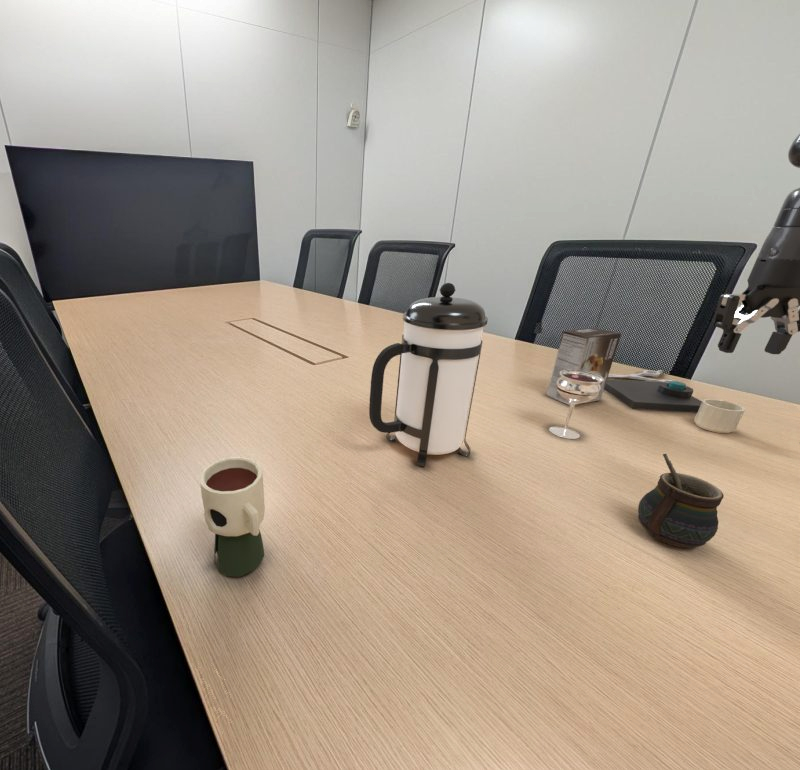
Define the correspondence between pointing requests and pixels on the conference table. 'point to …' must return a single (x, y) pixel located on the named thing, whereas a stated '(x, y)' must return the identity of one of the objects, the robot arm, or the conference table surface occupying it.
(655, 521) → the mate gourd
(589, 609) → the conference table surface
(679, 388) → the tare button
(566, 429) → the wineglass
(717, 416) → the bowl
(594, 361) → the coffee box
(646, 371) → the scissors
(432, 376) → the coffee press
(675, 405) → the scale
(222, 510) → the character mug
